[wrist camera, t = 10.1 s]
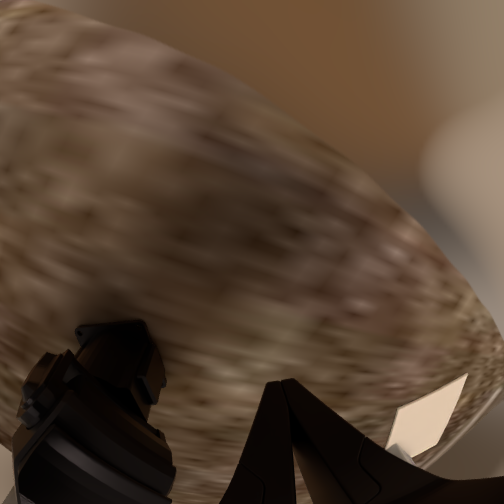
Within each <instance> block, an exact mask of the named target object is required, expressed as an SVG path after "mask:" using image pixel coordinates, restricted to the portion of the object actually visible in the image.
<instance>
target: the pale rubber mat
mask: <svg viewBox="0 0 504 504" xmlns="http://www.w3.org/2000/svg"><path fill="white" fill-rule="evenodd" d="M467 375H468V373H465V374H464V375H462V376H460V377H458V378H457V379H455V380H453V381H451V382H450V383H448V384H446V385H444V386H442V387H440V388H438V389H437V390H435V391H433V392H431V393H429V394H427V395H425V396H423V397H420V398H418V399H416V400H414V401H412V402H410V403H407V404H405V405H403V406H401V407H398V408H397V412H396V415H395V419H394V422H393V425H392V429H391V432H390V435H389V438H388V441H387V444H386V447H385V450H388V449H389V448H391V447H392V446H394V445H395V444H398V445H399V446H400V447H401V448H402V449H403V450H404V451H405V452H406V453H407V454H408V455H409V456H410V457H411V458H412V457H414V456H416V455H417V454H419V453H421V452H423V451H425V450H427V449H429V448H431V447H432V446H434V445H436V444H437V442H438V441H439V439H440V437H441V435H442V433H443V431H444V429H445V427H446V425H447V423H448V421H449V419H450V416H451V414H452V412H453V410H454V408H455V405H456V403H457V401H458V398H459V396H460V393H461V391H462V388H463V386H464V383H465V380H466V378H467Z"/></svg>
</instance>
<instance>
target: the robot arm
mask: <svg viewBox="0 0 504 504" xmlns="http://www.w3.org/2000/svg"><path fill="white" fill-rule="evenodd" d="M137 325H140V326H141V327H142V328H138V327H137ZM80 331H81V332H82V333H80ZM75 334H76V337H77V339H78V341H79V344H80V346H81V348H80V349H79V351H78V352H77V354H76V355H75V356H74V354H73V353H72V352H71V351H70V350H69V349H67V350H66V351H65V352H64V353H63V354H61V353H60V354H58V355H57V354H56V355H54V354H51V353H48V352H47V353H45V354H44V355H43V356H42V358H41V359H40V360H39V361H38V363H37V364H36V365H35V366H34V368H33V369H32V370H31V372H30V373H29V375H28V377H27V378H26V380H25V382H24V384H23V385H22V387H21V391H22V399H21V402H20V406H19V409H18V413H17V417H16V418H17V419H18V420H19V421H20V422H21V423H22V424H21V425H20V427H19V428H18V429H17V431H16V432H15V434H14V435H13V437H12V462H13V476H14V486H13V488H12V489H11V491H10V493H9V494H8V496H7V497H6V499H5V500H4V502H3V503H2V504H171V503H172V499H170V498H168V497H167V496H168V494H169V493H170V491H171V489H172V486H173V483H174V481H175V476H176V467H175V466H173V465H172V464H173V463H172V452H171V450H170V448H169V446H168V444H167V443H166V439H165V435H164V433H163V432H161V431H160V430H158V429H155V428H154V427H152V426H151V425H150V424H148V423H147V420H148V416H149V412H150V408H151V405H156V404H157V402H158V399H159V394H160V390H161V388H164V387H166V383H167V381H166V378H165V376H164V373H165V368H164V366H163V363H162V361H161V358H160V355H159V352H158V350H157V347H156V346H155V345H154V344H152V341H151V338H150V335H149V332H148V329H147V326H146V324H145V322H144V321H142V320H131V321H123V322H113V323H103V324H93V325H82V326H78V327H77V328H76V329H75ZM293 452H294V455H295V457H296V460H297V463H298V465H299V468H300V471H301V473H302V476H303V479H304V481H305V484H306V486H307V489H308V491H309V494H310V497H311V499H312V502H313V504H504V476H500V477H493V478H483V479H471V480H450V479H445V478H442V477H439V476H436V475H434V474H431V473H429V472H427V471H425V470H423V469H421V468H419V467H417V466H415V465H412V464H410V463H408V462H406V461H404V460H402V459H401V458H399V457H397V456H395V455H393V454H392V453H390V452H388V451H387V450H385V449H384V448H382V447H381V446H379V445H378V444H376V443H375V442H373V441H372V440H371V439H369V438H368V437H365V435H364V434H363V433H361V432H360V431H359V430H357V429H356V428H355V427H353V426H352V425H351V424H349V423H348V422H347V421H346V420H344V419H343V418H342V417H340V416H339V415H338V414H337V413H335V412H334V411H333V410H332V409H330V408H329V407H328V406H327V405H325V404H324V403H323V402H322V401H321V400H319V399H318V398H317V397H316V396H314V395H313V394H312V393H311V392H310V391H308V390H307V389H306V388H305V387H304V386H303V385H301V384H300V383H299V382H298V381H297V380H295V379H294V378H290V379H284V380H281V382H280V381H271V382H267V383H266V386H265V389H264V392H263V395H262V398H261V401H260V404H259V407H258V410H257V413H256V416H255V419H254V421H253V424H252V427H251V430H250V433H249V436H248V438H247V441H246V444H245V447H244V449H243V452H242V455H241V458H240V460H239V464H238V465H237V468H236V470H235V473H234V475H233V478H232V480H231V482H230V484H229V487H228V489H227V490H226V492H225V494H224V496H223V498H222V499H221V501H220V503H219V504H296V489H295V475H294V461H293Z"/></svg>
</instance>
